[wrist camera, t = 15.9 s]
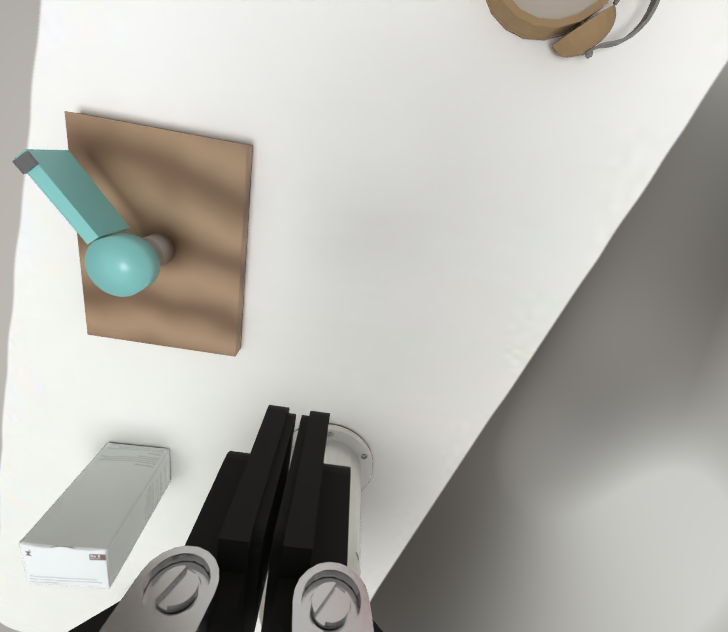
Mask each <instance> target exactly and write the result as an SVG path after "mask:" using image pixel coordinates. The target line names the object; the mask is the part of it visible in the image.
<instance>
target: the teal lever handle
mask: <svg viewBox="0 0 728 632" xmlns="http://www.w3.org/2000/svg"><path fill="white" fill-rule="evenodd" d="M13 163H14V164H15V165H16V166H17V168H18V169H19V170H20V171H21V172H22V173H23V174H26V173H27V174H28V175H29V176H30V177H31V178H32V179H33V181H34V182H35V183H36V184H37V185H38V187H39V188H40V189H41V190H42V191H43V192H44V194H45V195H46V196H47V197H48V198H49V200H50V201H51V202H52V203H53V204H54V205H55V207H56V208H57V209H58V210H59V211H60V213H61V214H62V215H63V216H64V217H65V218H66V220H67V221H68V222H69V223H70V224H71V226H72V227H73V228H74V229H75V230H76V231H77V233H78V234H79V235H80V236H81V237H82V239H83V240H84V241H85V242H86V243H87V244H90V243H92V244H91V245H90V246H89V247H88V249H87V251H86V253H85V259H84V261H85V268H86V271H87V273H88V275H89V277H90V279H91V280H92V281H93V283H94V284H95V285H96V286H97V287H99V288H100V289H101V290H103V291H104V292H106V293H108V294H111V295H114V296H119V297H127V296H132V295H134V294H136V293H138V292H140V291H141V290H143V289H145V288H146V287H148V286H150V285H151V284H153V283H154V282H155V280H156V279H157V277H158V275H159V272H160V262H159V258H158V255H157V253H156V251H155V250H154V248H153V247H152V246H151V245H150V244H149V243H148V242H147V241H146V240H144V239H143V238H141V237H139V236H137V235H135V234H131V233H123V232H124V231H126V230H127V229H129V228H130V227H129V226H128V225H127V223H126V222H125V221H124V219H123V218H122V217H121V216H120V214H119V213H118V212H117V211H116V209H115V208H114V207H113V206H112V204H111V203H110V202H109V201H108V199H107V198H106V197H105V195H104V194H103V193H102V192H101V190H100V189H99V188H98V187H97V185H96V184H95V183H94V182H93V180H92V179H91V178H90V177H89V175H88V174H87V173H86V172H85V170H84V169H83V168H82V166H81V165H80V164H79V163H78V161H77V160H76V159H75V158H74V156H73V155H72V154H71V153H70V151H69V150H33V149H26V150H24V151H23V152H22V153H21V154H19V155H18V156H16V157H15V160H13Z"/></svg>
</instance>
